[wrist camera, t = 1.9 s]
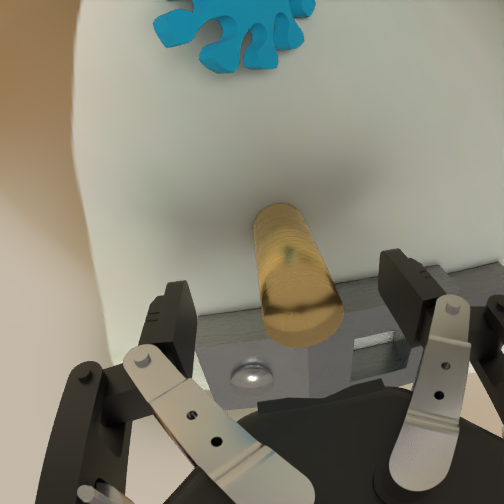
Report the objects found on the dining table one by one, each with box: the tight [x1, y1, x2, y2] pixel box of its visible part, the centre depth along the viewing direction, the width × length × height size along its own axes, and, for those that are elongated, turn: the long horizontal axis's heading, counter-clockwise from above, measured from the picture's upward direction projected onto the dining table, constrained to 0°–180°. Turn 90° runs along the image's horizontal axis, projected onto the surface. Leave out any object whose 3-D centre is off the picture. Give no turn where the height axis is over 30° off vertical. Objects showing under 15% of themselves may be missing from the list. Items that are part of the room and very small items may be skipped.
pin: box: [253, 204, 344, 348], centre depth 15 cm, size 3×3×8 cm
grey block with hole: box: [195, 262, 504, 410], centre depth 21 cm, size 24×9×4 cm, turn 98°
